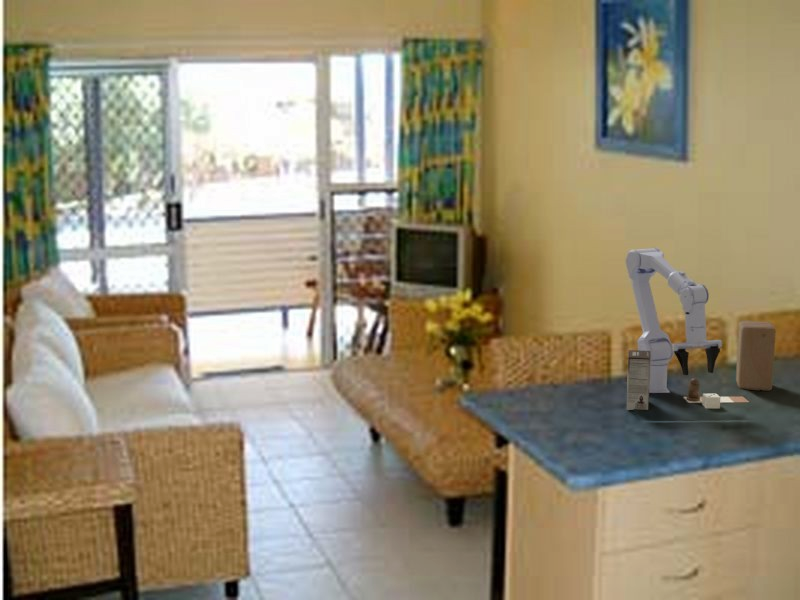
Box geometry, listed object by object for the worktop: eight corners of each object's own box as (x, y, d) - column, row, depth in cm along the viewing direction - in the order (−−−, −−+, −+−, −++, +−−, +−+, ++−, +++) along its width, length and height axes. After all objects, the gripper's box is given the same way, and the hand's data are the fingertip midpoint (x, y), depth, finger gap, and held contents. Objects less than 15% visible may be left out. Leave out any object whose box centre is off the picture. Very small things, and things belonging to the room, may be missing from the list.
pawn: (688, 401, 332) (689, 380, 330) (685, 397, 335) (686, 376, 334) (701, 401, 332) (702, 380, 330) (697, 397, 335) (698, 376, 334)
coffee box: (626, 401, 333) (628, 349, 330) (648, 403, 332) (650, 350, 329) (626, 410, 325) (628, 356, 322) (648, 411, 323) (651, 357, 320)
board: (688, 404, 331) (688, 402, 330) (683, 398, 337) (683, 396, 336) (749, 404, 331) (749, 402, 331) (742, 398, 337) (742, 396, 337)
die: (705, 410, 325) (706, 397, 324) (702, 406, 329) (702, 393, 328) (719, 410, 325) (720, 397, 324) (715, 406, 329) (716, 393, 328)
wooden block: (772, 391, 344) (776, 328, 340) (738, 390, 346) (741, 326, 342) (768, 383, 354) (772, 321, 350) (735, 381, 355) (738, 320, 352)
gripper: (677, 329, 319) (680, 377, 320) (725, 325, 322) (727, 373, 322) (667, 328, 326) (670, 374, 327) (714, 324, 329) (717, 370, 329)
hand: (698, 373), depth 325 cm, fingers open, 7 cm apart
